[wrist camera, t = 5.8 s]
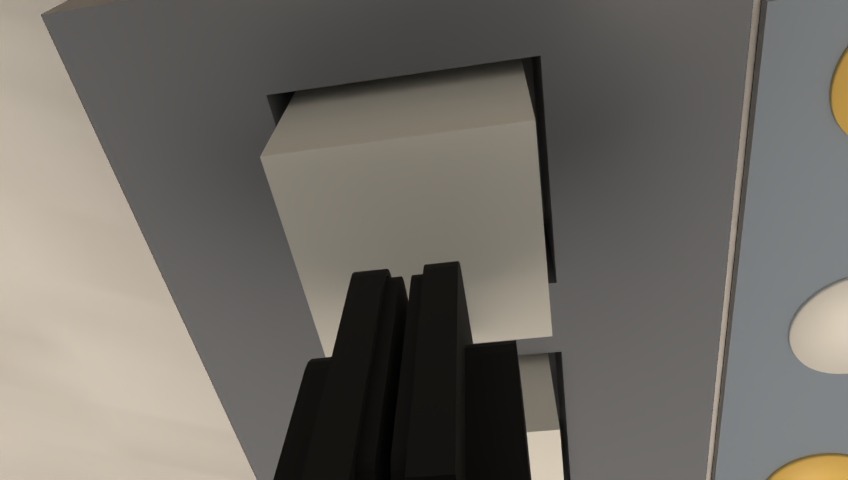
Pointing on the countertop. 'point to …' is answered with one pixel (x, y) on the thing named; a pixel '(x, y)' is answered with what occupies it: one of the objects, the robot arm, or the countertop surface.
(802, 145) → the pattern card
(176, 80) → the button board
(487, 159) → the key
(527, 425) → the key middle
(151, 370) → the countertop surface
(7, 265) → the countertop surface
